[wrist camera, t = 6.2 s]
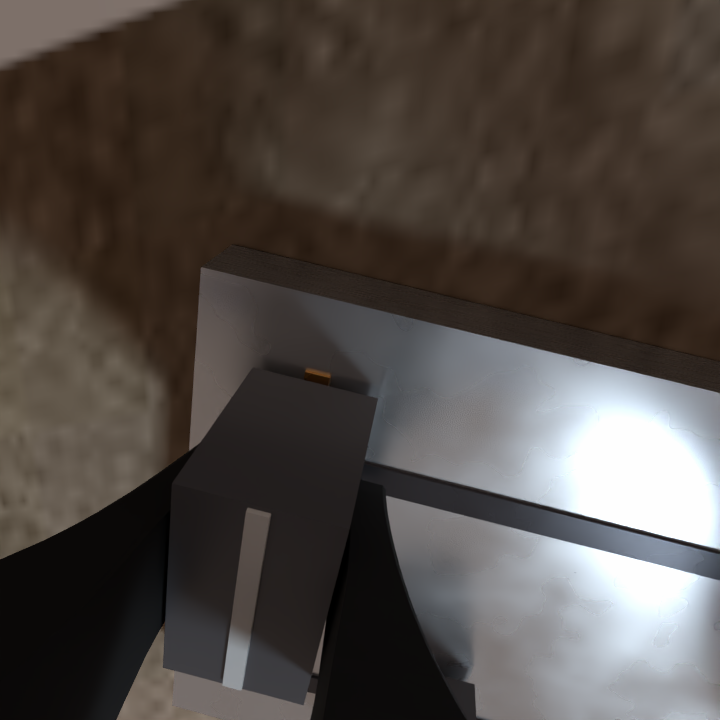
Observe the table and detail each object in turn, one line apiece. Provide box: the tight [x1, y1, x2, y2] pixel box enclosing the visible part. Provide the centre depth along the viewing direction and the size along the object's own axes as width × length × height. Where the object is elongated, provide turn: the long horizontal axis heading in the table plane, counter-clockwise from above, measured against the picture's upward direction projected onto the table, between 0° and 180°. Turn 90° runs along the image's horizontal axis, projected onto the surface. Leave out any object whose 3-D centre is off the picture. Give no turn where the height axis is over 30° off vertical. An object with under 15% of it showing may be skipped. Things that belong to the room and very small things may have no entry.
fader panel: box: [172, 244, 720, 720], centre depth 16 cm, size 18×17×2 cm
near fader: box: [163, 367, 378, 705], centre depth 12 cm, size 3×5×4 cm, turn 169°
